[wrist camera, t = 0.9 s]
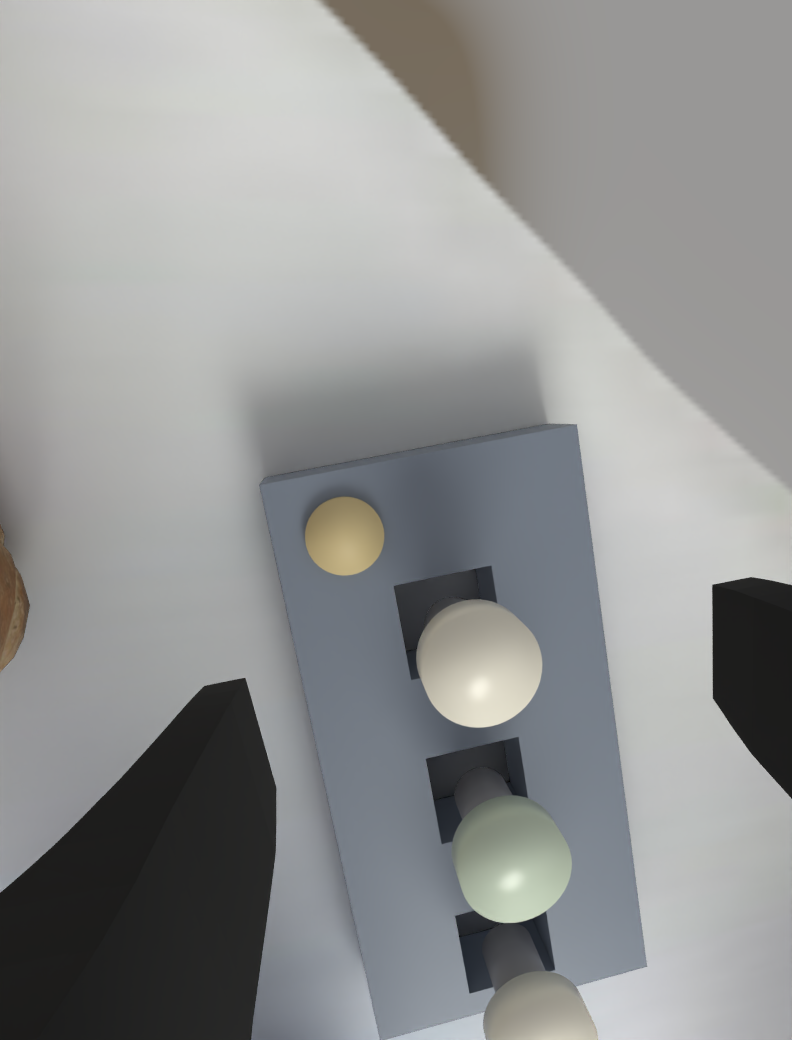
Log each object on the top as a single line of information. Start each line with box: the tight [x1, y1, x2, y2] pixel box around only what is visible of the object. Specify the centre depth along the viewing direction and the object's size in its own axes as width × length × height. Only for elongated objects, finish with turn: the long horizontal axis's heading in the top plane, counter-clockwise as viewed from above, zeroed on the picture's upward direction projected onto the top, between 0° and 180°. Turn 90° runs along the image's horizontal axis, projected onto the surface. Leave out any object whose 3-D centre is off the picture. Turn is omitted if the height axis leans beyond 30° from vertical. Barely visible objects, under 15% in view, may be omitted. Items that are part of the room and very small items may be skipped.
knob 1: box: [416, 597, 542, 728], centre depth 19 cm, size 3×3×4 cm
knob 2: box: [482, 923, 598, 1040], centre depth 21 cm, size 3×3×4 cm
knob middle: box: [452, 767, 572, 923], centre depth 20 cm, size 3×3×4 cm
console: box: [259, 424, 647, 1040], centre depth 23 cm, size 20×10×3 cm, turn 10°
